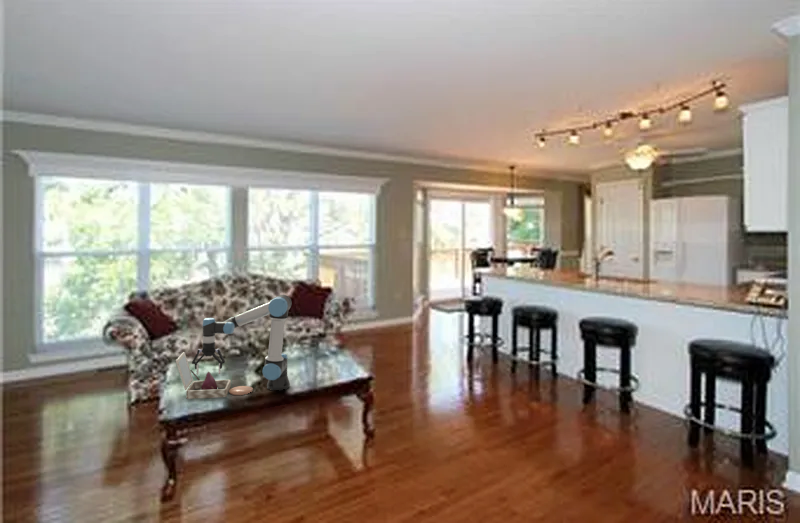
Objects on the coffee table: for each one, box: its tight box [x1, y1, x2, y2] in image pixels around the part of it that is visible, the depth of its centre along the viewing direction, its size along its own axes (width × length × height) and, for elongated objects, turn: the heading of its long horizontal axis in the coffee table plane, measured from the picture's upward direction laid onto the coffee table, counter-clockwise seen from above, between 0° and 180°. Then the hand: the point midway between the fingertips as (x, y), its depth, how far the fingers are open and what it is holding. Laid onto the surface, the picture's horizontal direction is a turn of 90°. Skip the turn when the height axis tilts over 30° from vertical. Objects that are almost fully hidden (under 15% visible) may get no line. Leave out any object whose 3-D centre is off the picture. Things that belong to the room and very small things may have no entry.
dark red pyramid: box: [200, 371, 219, 390], centre depth 327 cm, size 10×10×15 cm
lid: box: [175, 351, 194, 391], centre depth 323 cm, size 20×20×1 cm
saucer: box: [228, 385, 254, 396], centre depth 331 cm, size 15×15×1 cm
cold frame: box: [185, 369, 232, 400], centre depth 326 cm, size 26×20×13 cm
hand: (208, 373), depth 326 cm, fingers open, 13 cm apart
